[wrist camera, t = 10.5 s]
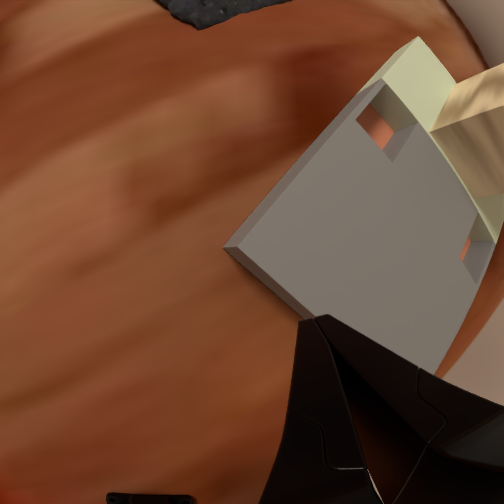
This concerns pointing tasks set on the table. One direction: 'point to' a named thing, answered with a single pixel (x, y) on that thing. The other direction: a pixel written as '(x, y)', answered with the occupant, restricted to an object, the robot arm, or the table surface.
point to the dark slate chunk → (213, 9)
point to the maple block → (475, 131)
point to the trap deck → (378, 219)
